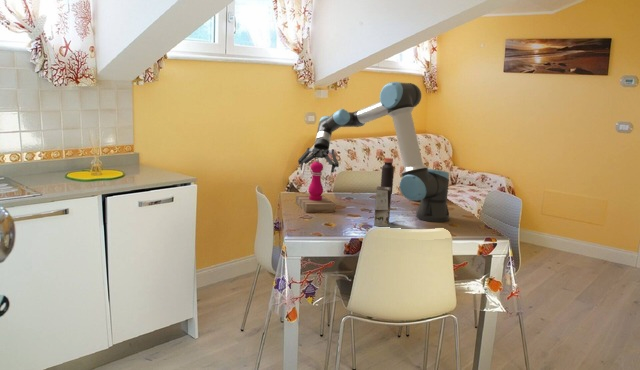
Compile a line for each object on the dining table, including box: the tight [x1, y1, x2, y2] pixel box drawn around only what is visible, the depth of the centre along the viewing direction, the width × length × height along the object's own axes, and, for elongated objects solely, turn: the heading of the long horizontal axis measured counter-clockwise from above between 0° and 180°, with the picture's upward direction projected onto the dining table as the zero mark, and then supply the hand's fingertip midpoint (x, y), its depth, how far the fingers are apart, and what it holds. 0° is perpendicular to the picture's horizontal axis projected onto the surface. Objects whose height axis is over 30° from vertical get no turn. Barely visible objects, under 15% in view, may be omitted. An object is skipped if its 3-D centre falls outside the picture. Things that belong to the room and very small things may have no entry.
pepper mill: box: [307, 158, 324, 201], centre depth 255 cm, size 7×7×20 cm
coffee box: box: [373, 186, 392, 228], centre depth 230 cm, size 9×6×16 cm
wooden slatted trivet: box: [295, 194, 336, 213], centre depth 257 cm, size 20×14×4 cm
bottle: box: [380, 157, 395, 194], centre depth 302 cm, size 7×7×20 cm
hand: (315, 176), depth 256 cm, fingers open, 13 cm apart
